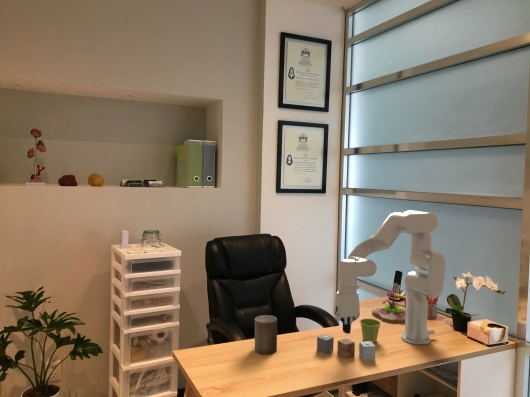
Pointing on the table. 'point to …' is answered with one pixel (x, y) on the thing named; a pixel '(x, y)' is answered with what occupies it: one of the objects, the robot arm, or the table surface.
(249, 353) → the table surface
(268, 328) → the pillar candle
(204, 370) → the table surface
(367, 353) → the slate block
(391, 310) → the plant
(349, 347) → the walnut block
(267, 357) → the table surface
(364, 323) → the plant pot
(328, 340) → the charcoal block
